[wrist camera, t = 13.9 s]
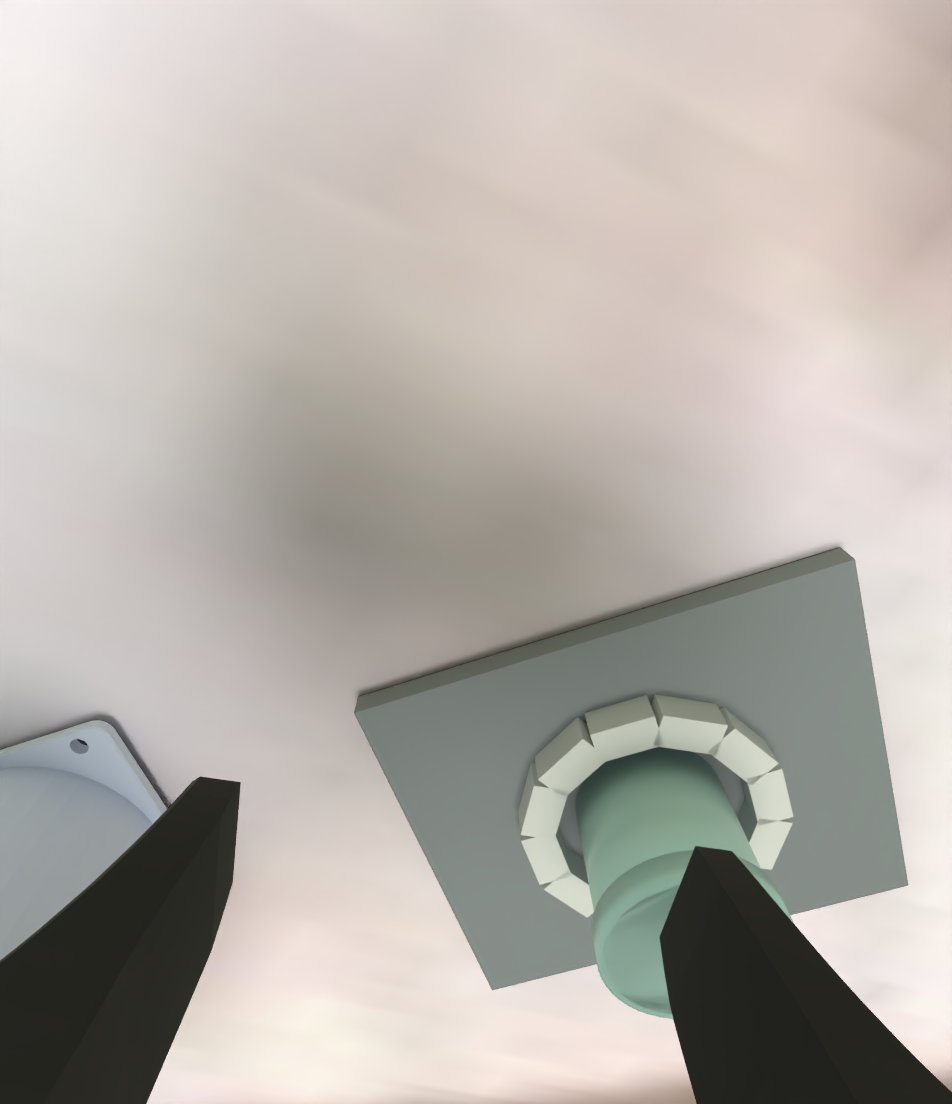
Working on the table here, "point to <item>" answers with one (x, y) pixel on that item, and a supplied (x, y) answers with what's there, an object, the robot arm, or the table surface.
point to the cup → (649, 859)
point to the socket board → (640, 724)
